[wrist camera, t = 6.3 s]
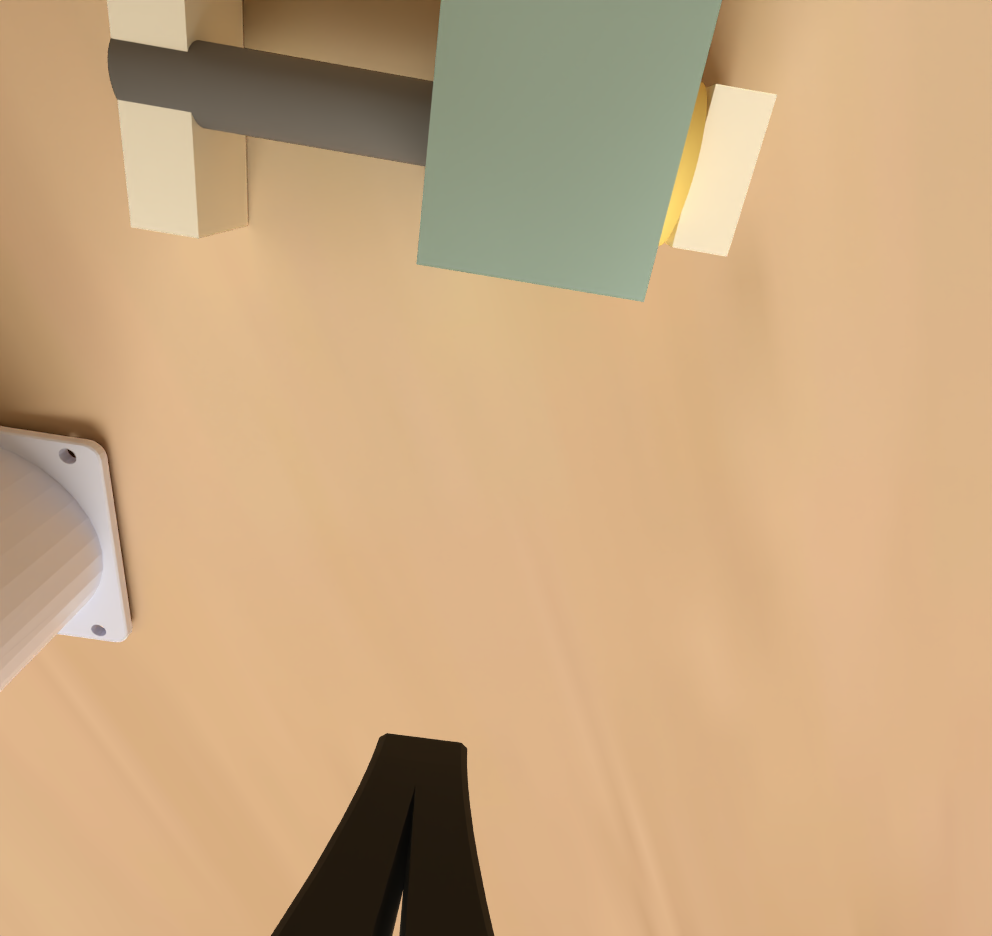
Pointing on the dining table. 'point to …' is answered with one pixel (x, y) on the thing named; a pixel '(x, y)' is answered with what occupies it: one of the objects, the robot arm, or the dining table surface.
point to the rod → (312, 102)
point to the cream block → (723, 168)
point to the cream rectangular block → (180, 128)
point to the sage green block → (559, 137)
